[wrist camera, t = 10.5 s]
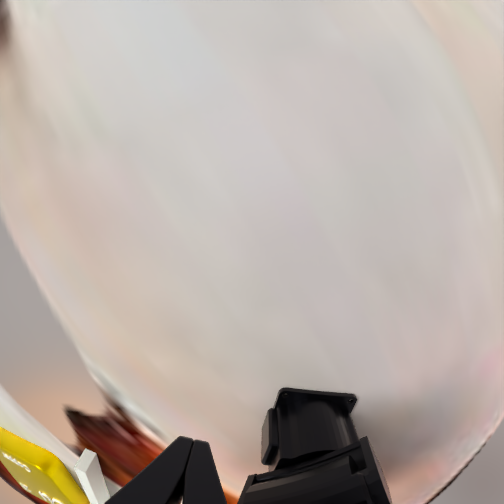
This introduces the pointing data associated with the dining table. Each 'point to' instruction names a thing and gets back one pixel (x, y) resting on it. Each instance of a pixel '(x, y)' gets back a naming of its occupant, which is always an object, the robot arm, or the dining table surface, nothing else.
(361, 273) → the dining table surface
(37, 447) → the element tile
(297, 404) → the robot arm
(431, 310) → the dining table surface
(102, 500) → the u rest
